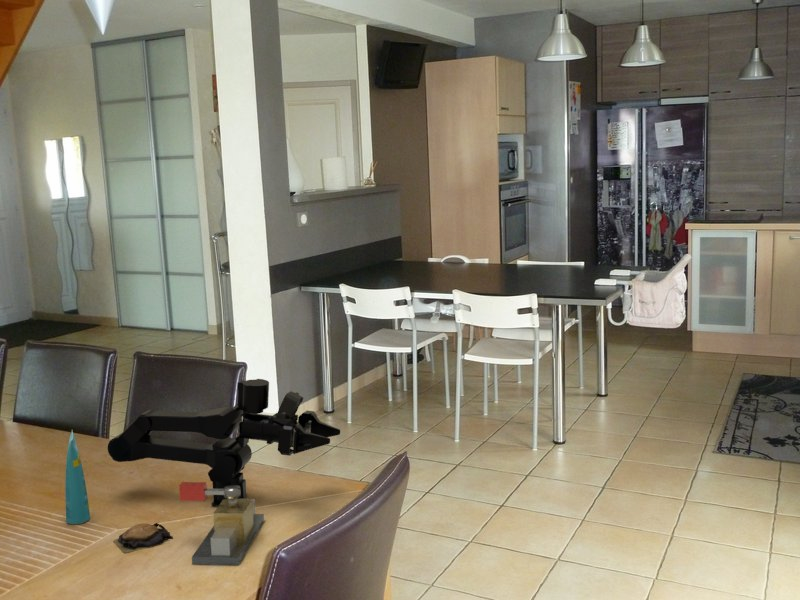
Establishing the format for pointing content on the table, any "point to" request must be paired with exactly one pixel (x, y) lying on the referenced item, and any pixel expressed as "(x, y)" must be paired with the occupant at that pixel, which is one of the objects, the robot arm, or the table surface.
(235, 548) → the valve stand
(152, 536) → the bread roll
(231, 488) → the valve lever
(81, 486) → the tube
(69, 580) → the table surface
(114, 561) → the table surface
